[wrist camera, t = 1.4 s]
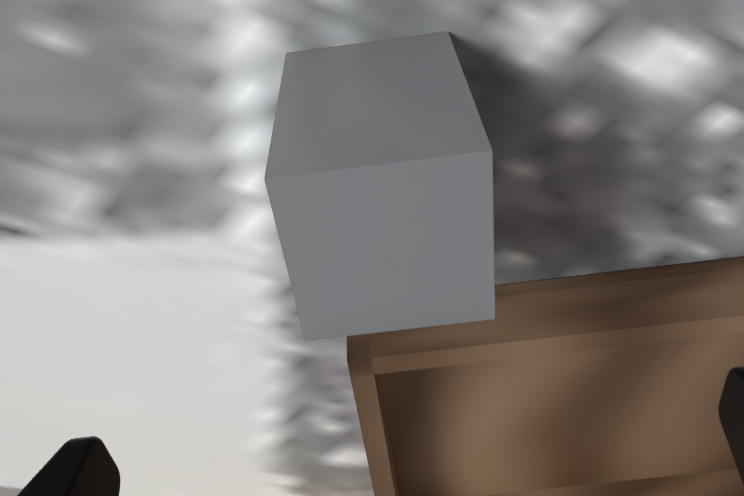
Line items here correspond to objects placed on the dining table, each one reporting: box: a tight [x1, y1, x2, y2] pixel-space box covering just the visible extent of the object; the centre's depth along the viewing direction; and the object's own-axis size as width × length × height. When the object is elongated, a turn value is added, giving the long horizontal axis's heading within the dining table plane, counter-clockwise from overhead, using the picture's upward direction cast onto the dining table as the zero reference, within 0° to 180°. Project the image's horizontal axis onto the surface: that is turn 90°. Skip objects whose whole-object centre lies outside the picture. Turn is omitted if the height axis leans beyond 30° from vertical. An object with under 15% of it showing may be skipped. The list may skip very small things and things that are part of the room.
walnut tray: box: [347, 257, 744, 496], centre depth 24 cm, size 17×11×2 cm, turn 97°
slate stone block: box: [265, 32, 495, 341], centre depth 15 cm, size 4×4×6 cm
